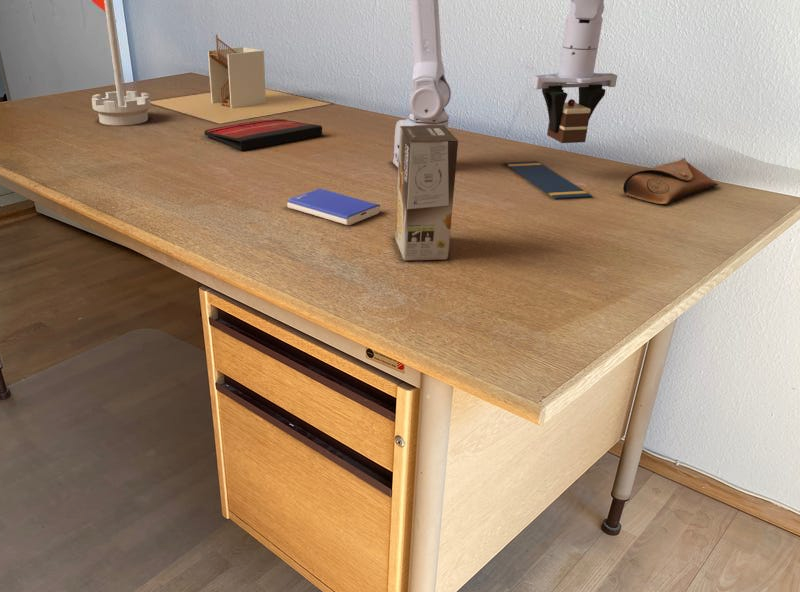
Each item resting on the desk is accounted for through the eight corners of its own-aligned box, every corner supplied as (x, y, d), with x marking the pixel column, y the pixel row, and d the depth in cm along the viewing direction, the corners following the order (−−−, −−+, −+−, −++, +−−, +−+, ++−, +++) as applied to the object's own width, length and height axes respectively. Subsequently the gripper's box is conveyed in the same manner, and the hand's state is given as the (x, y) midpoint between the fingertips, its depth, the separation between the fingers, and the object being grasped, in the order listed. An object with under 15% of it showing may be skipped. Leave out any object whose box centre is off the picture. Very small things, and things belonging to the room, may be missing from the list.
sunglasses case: (668, 204, 120) (656, 164, 120) (630, 216, 126) (618, 178, 125) (721, 184, 130) (710, 147, 130) (683, 195, 136) (673, 160, 136)
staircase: (211, 103, 191) (205, 33, 182) (245, 97, 197) (242, 29, 189) (231, 108, 185) (226, 36, 177) (265, 102, 192) (263, 33, 183)
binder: (322, 124, 159) (240, 139, 148) (322, 135, 161) (241, 151, 149) (278, 115, 170) (199, 128, 159) (279, 125, 172) (200, 139, 160)
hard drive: (287, 199, 118) (347, 216, 111) (321, 187, 123) (380, 203, 116) (287, 208, 119) (346, 226, 112) (321, 196, 124) (379, 213, 117)
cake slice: (561, 143, 128) (568, 103, 125) (546, 135, 133) (552, 96, 130) (585, 142, 129) (592, 102, 125) (569, 134, 134) (575, 95, 131)
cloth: (555, 199, 124) (555, 197, 124) (504, 164, 142) (505, 162, 142) (591, 197, 125) (591, 195, 125) (536, 162, 144) (536, 160, 143)
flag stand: (164, 118, 175) (148, -25, 160) (122, 129, 165) (102, -23, 150) (124, 111, 181) (106, -27, 166) (82, 121, 171) (59, -25, 156)
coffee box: (449, 260, 100) (460, 140, 92) (403, 261, 100) (409, 141, 92) (436, 236, 108) (445, 123, 100) (392, 237, 108) (398, 124, 100)
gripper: (549, 51, 119) (537, 137, 126) (632, 49, 121) (616, 134, 128) (531, 45, 125) (521, 128, 132) (610, 44, 127) (596, 125, 134)
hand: (566, 130), depth 130 cm, fingers closed on cake slice, 4 cm apart
